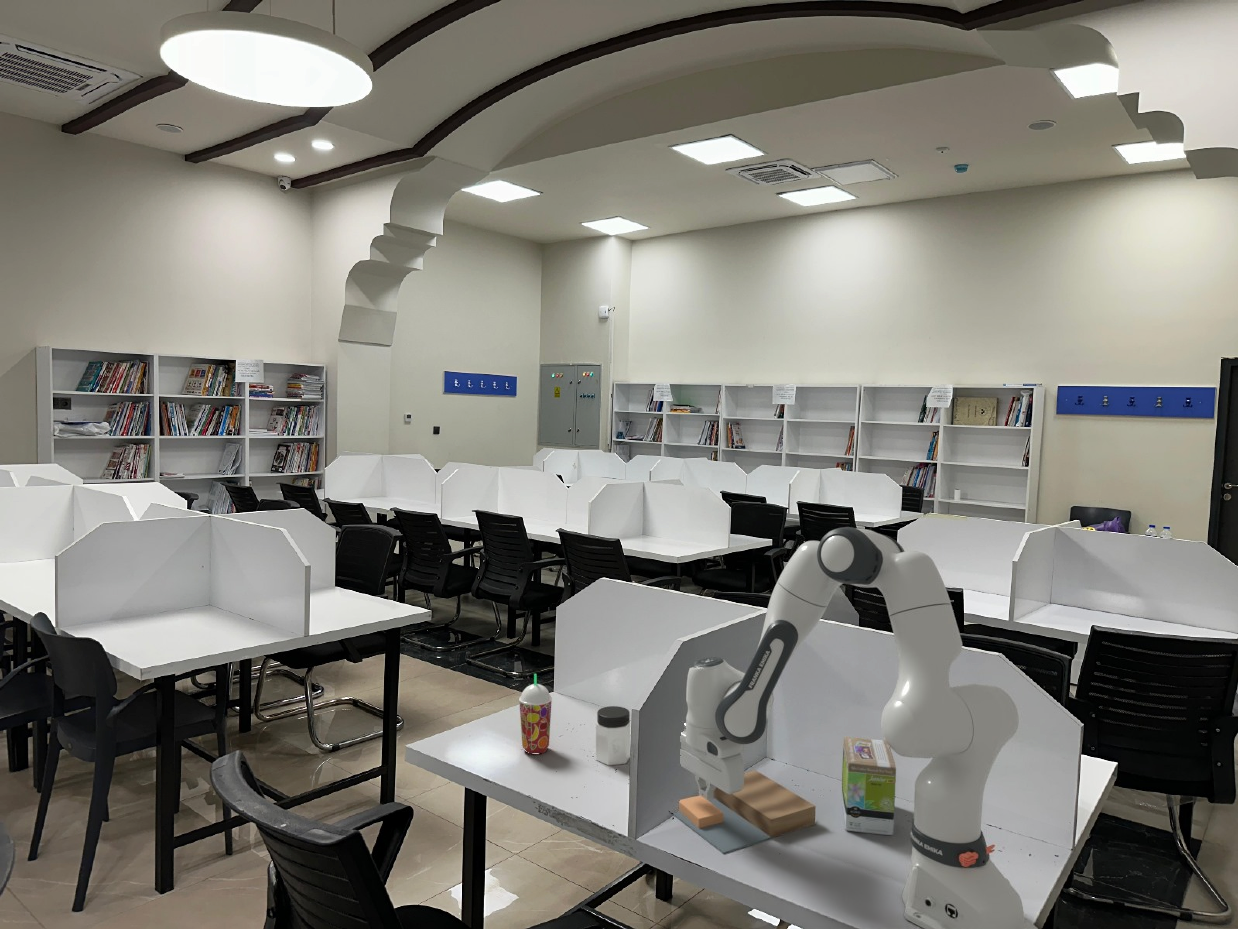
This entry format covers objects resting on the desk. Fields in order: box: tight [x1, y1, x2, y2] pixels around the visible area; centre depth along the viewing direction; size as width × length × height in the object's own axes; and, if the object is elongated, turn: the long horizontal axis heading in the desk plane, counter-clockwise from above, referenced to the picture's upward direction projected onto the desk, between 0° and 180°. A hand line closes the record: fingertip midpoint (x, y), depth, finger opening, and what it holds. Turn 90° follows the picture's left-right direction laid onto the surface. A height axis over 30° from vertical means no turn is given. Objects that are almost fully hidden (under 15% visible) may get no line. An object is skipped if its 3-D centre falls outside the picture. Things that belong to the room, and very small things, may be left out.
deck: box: [713, 769, 816, 839], centre depth 183 cm, size 20×12×4 cm, turn 30°
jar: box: [595, 705, 631, 766], centre depth 210 cm, size 9×8×12 cm
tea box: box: [841, 736, 897, 836], centre depth 180 cm, size 15×10×15 cm
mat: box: [673, 798, 772, 855], centre depth 177 cm, size 20×12×1 cm, turn 30°
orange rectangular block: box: [679, 795, 723, 828], centre depth 181 cm, size 9×6×2 cm, turn 25°
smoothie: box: [518, 673, 553, 754], centre depth 215 cm, size 8×8×20 cm
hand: (706, 797), depth 179 cm, fingers closed
